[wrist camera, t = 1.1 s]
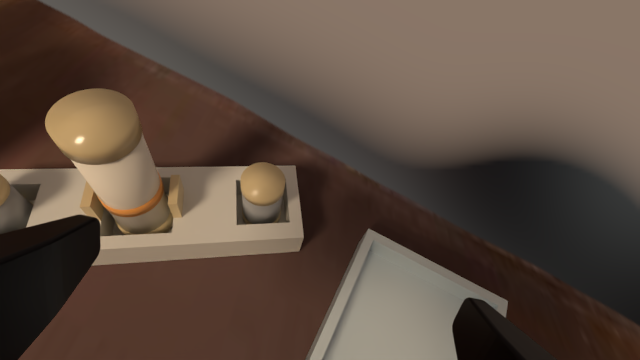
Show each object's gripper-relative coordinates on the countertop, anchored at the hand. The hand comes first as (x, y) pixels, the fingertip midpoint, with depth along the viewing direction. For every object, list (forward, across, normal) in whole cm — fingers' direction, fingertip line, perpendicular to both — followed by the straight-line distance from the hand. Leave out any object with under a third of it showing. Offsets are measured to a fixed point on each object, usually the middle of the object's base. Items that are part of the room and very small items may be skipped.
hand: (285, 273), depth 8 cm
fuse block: (+13, +9, +9) cm, 19 cm away
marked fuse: (+13, +9, +8) cm, 18 cm away
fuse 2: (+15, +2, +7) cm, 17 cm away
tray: (+9, -8, +12) cm, 17 cm away
